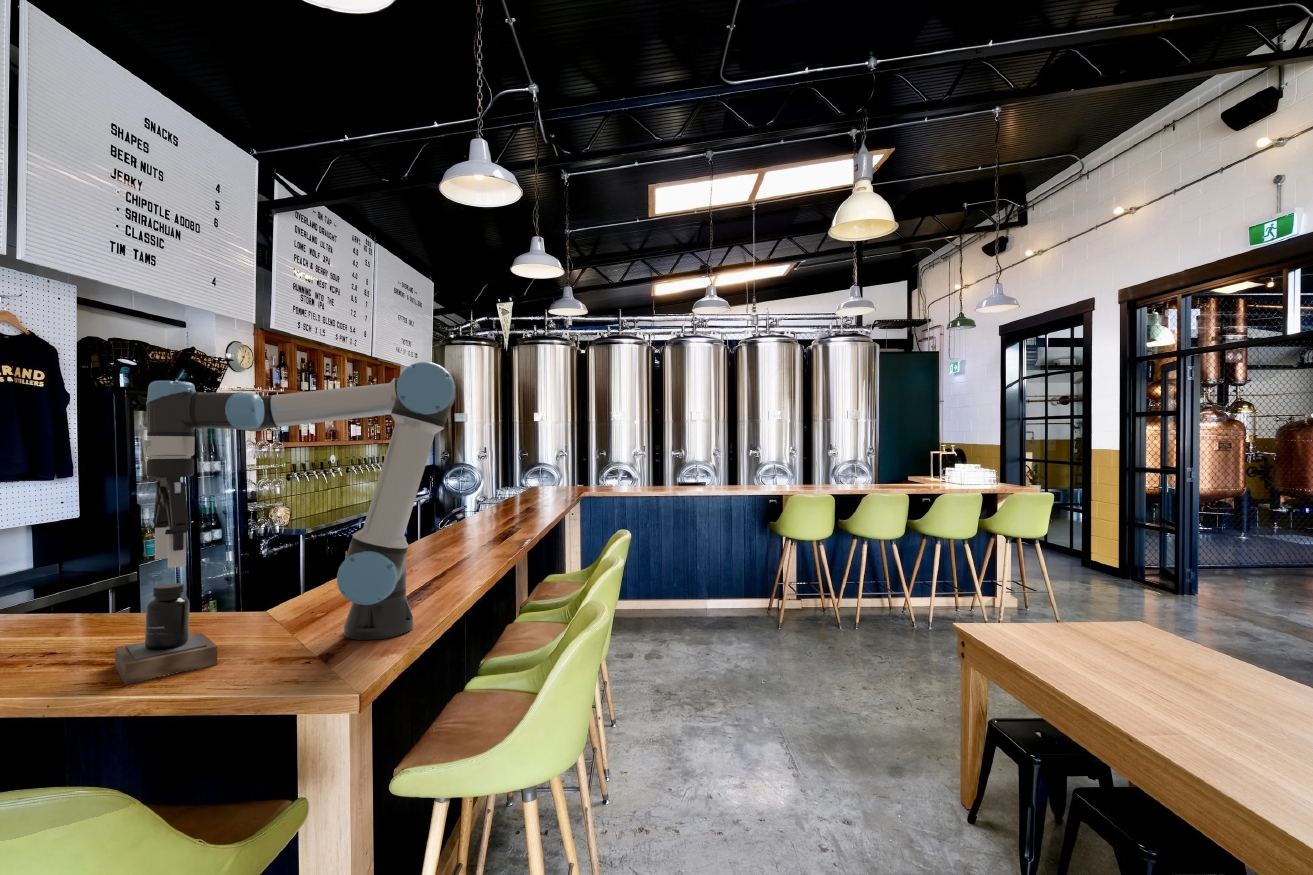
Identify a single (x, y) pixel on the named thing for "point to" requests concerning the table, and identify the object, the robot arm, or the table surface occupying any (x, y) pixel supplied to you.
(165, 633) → the supplement bottle
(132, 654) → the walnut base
